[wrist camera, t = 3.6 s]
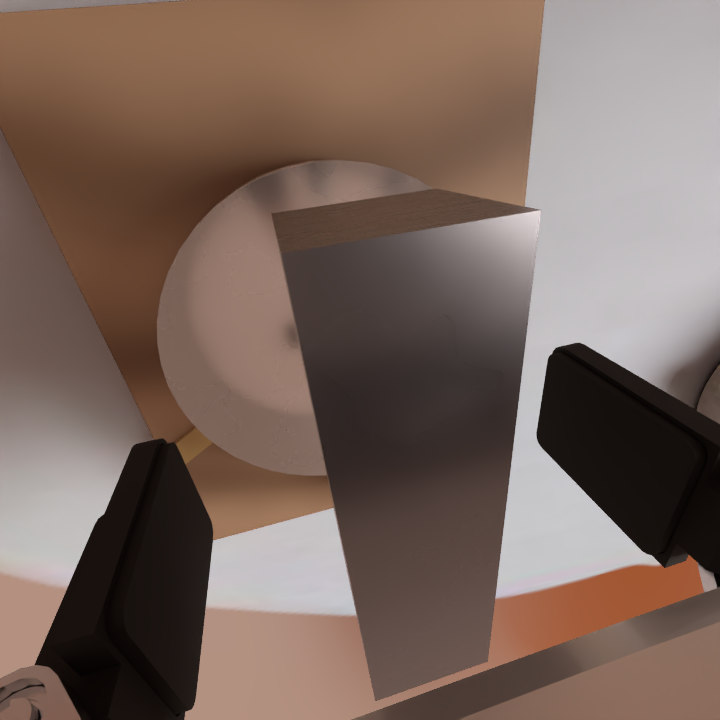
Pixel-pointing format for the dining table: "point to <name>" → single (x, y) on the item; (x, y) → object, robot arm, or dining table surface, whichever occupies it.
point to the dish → (711, 397)
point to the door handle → (368, 381)
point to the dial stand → (246, 150)
